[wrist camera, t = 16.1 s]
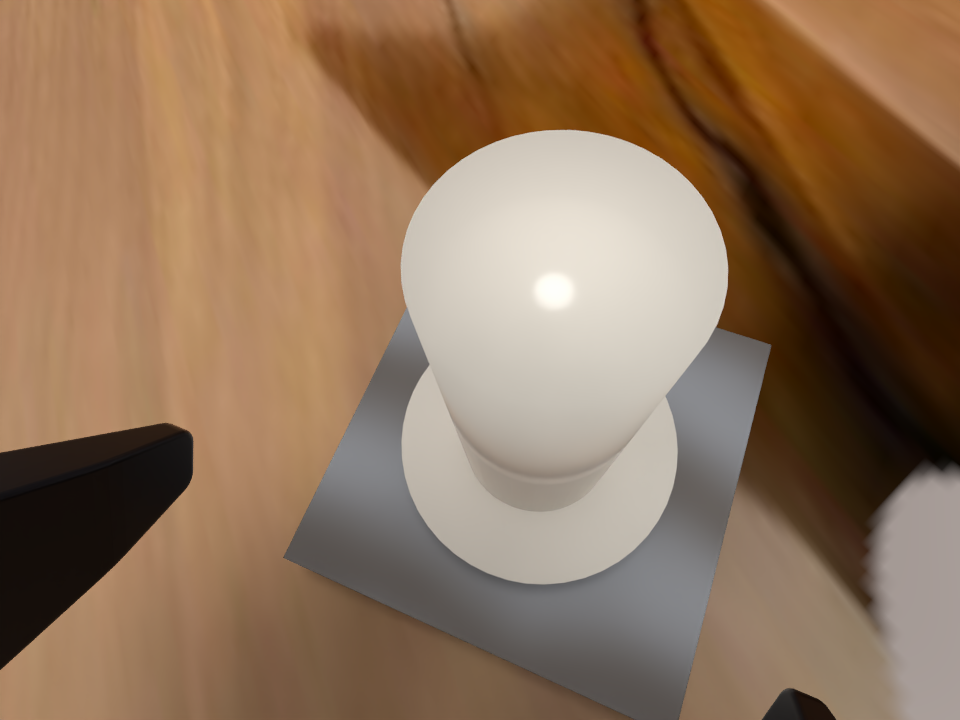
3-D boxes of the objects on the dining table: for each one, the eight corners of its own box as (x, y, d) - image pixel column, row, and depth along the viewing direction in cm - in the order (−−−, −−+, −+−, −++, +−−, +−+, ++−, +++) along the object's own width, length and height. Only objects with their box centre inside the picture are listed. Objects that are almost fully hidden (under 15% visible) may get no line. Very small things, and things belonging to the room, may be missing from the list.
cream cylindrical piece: (519, 645, 17) (523, 766, 6) (365, 434, 20) (157, 230, 9) (716, 469, 19) (1030, 287, 7) (547, 295, 22) (582, -37, 10)
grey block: (654, 718, 19) (674, 737, 16) (309, 560, 21) (283, 557, 19) (745, 369, 23) (771, 345, 20) (447, 271, 25) (440, 240, 23)
